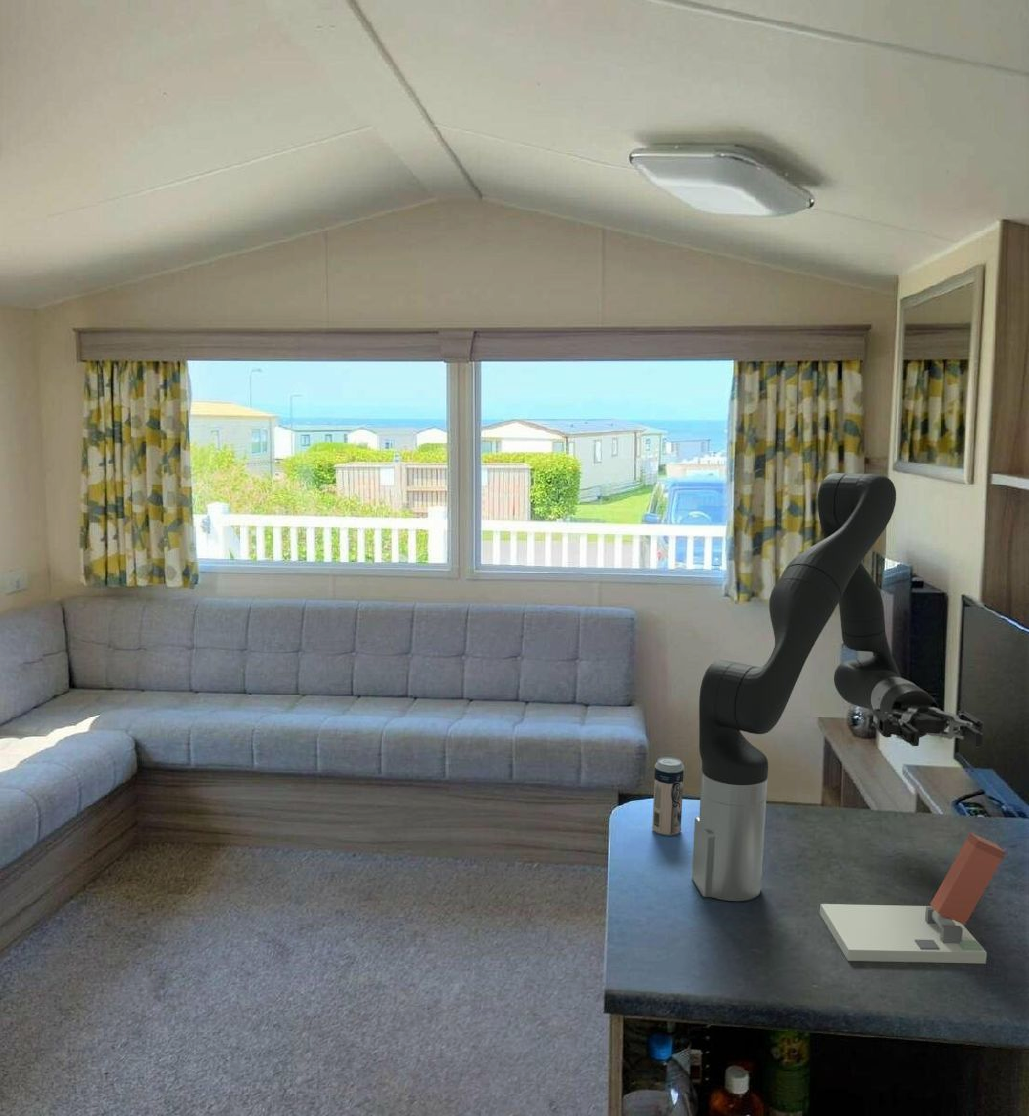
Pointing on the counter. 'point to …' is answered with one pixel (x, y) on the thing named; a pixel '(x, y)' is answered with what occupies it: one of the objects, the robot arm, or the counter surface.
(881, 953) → the breaker base
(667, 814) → the beer can
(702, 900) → the counter surface
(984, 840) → the lever
